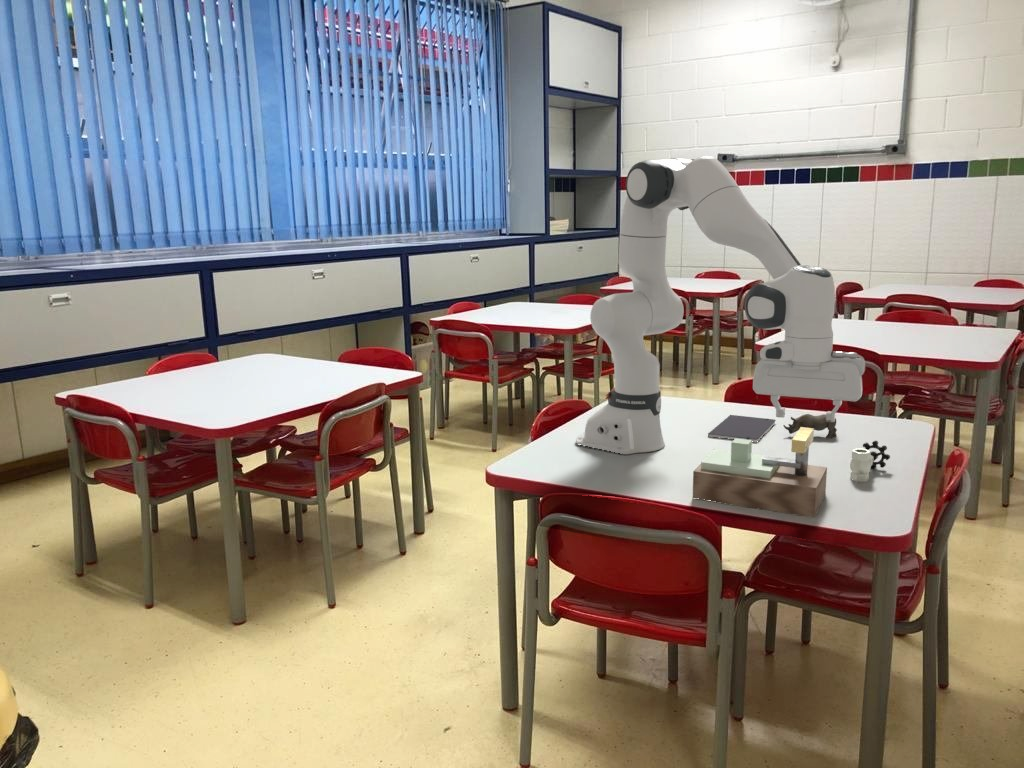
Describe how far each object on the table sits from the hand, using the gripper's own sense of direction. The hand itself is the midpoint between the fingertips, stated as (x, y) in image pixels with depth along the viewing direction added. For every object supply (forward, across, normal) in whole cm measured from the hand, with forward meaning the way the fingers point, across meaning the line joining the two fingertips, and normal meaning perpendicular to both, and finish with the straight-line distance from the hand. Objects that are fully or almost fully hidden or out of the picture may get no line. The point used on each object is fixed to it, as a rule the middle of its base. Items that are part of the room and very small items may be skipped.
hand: (805, 419), depth 160 cm
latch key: (+11, +3, 0) cm, 12 cm away
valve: (+18, -10, -24) cm, 32 cm away
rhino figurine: (+18, +6, -51) cm, 54 cm away
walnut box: (+18, +8, 0) cm, 19 cm away
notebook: (+18, +23, -50) cm, 58 cm away
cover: (+12, +12, 0) cm, 17 cm away
